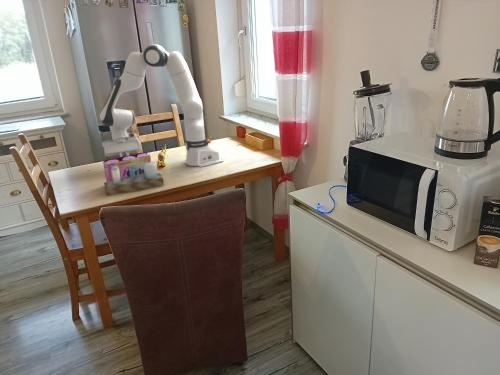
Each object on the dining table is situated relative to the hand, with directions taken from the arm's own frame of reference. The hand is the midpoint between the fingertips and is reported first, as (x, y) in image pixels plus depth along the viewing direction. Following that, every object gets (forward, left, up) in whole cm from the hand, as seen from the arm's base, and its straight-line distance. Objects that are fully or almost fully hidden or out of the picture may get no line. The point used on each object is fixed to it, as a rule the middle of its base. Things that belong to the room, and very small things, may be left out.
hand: (125, 160), depth 221 cm
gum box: (+1, +16, -7) cm, 18 cm away
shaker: (+8, +26, -3) cm, 27 cm away
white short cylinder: (-9, +26, -3) cm, 28 cm away
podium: (0, +26, -7) cm, 27 cm away
